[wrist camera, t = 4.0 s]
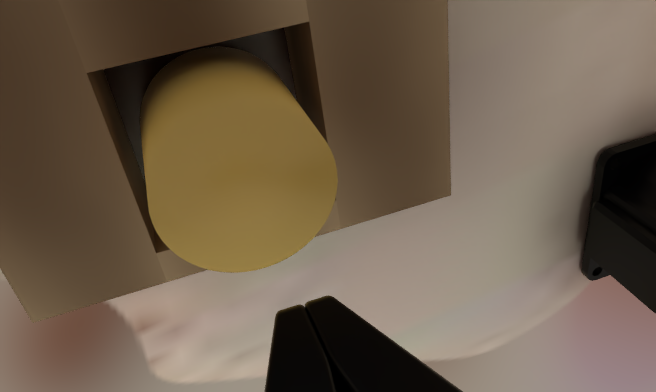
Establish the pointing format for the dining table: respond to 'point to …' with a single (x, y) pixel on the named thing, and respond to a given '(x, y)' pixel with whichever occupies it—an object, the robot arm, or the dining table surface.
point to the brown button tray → (117, 154)
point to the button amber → (232, 162)
